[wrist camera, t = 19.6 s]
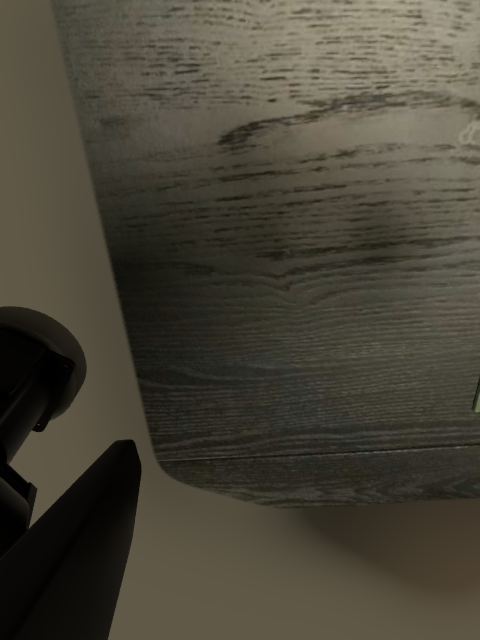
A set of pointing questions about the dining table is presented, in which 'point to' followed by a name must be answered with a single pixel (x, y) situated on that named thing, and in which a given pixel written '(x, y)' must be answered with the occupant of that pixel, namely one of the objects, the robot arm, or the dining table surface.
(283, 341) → the dining table surface
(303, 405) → the dining table surface
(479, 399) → the mat
